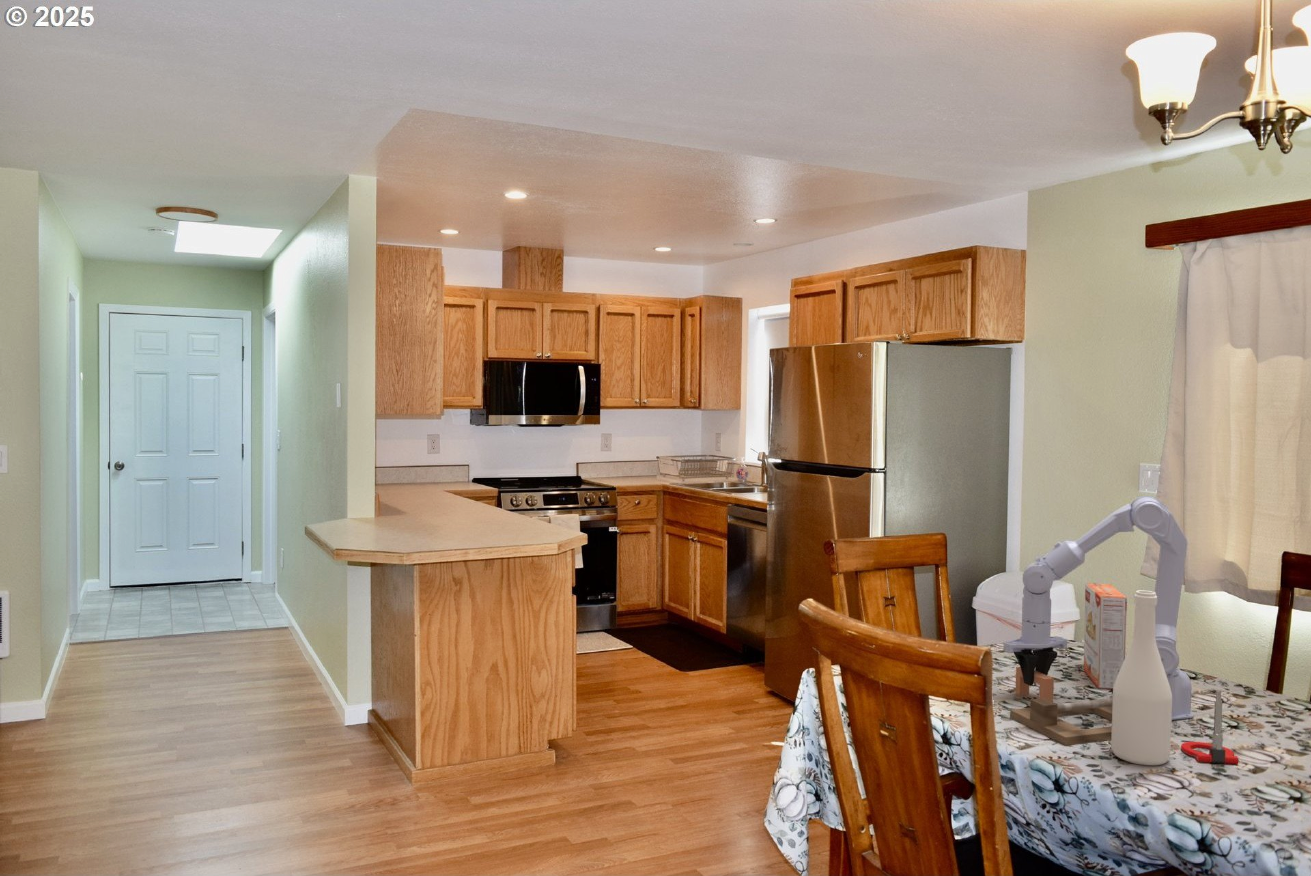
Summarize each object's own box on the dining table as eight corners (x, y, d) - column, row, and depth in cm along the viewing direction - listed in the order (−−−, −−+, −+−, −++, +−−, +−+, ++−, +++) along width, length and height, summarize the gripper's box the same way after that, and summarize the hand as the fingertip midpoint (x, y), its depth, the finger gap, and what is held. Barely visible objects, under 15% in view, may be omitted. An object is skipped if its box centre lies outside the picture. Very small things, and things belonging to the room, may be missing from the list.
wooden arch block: (1024, 692, 213) (1025, 666, 213) (1053, 705, 205) (1053, 678, 205) (1015, 693, 213) (1016, 667, 212) (1043, 706, 204) (1044, 679, 204)
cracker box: (1081, 670, 230) (1084, 582, 229) (1109, 672, 229) (1112, 583, 228) (1095, 689, 216) (1098, 595, 215) (1125, 691, 215) (1128, 596, 214)
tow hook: (1173, 746, 184) (1193, 762, 174) (1175, 677, 183) (1195, 690, 174) (1222, 749, 182) (1244, 766, 173) (1224, 680, 182) (1246, 693, 173)
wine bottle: (1100, 747, 181) (1106, 586, 180) (1150, 746, 182) (1156, 586, 180) (1128, 767, 172) (1134, 597, 170) (1181, 766, 173) (1187, 597, 171)
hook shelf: (1107, 706, 205) (1108, 680, 204) (1168, 732, 189) (1169, 704, 189) (1010, 717, 198) (1010, 690, 197) (1065, 745, 182) (1066, 716, 182)
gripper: (1052, 613, 214) (1050, 675, 215) (995, 618, 210) (993, 680, 210) (1074, 621, 207) (1072, 684, 208) (1016, 625, 203) (1014, 690, 204)
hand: (1034, 683), depth 209 cm, fingers closed on wooden arch block, 2 cm apart
